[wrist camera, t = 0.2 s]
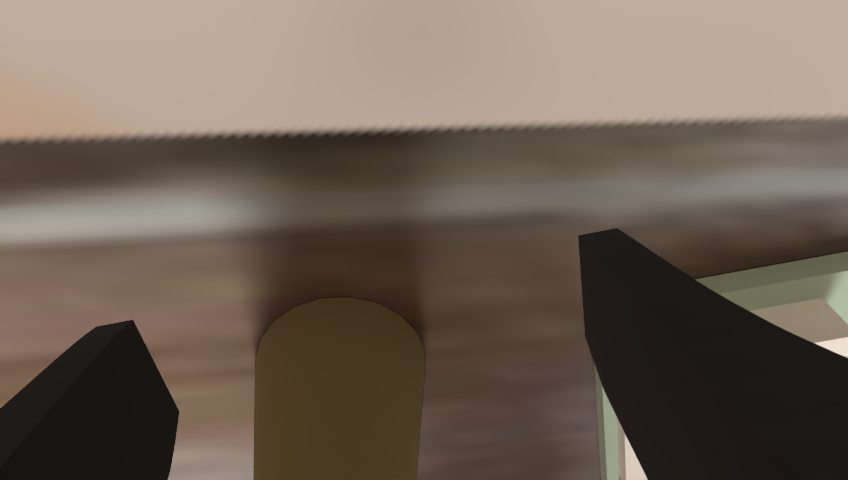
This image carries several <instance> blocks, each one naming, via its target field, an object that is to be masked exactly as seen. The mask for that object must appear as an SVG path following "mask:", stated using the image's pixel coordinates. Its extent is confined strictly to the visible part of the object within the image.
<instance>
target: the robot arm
mask: <svg viewBox="0 0 848 480" xmlns="http://www.w3.org/2000/svg"><path fill="white" fill-rule="evenodd" d="M578 239H579V253H580V267H581V281H582V295H583V309H584V322H585V336H586V339H587V342H588V345H589V348H590V351H591V354H592V357H593V360H594V363H595V366H596V369H597V372H598V375H599V378H600V381H601V383H602V386H603V389H604V391H605V394H606V396H607V398H608V400H609V402H610V404H611V406H612V408H613V410H614V412H615V414H616V416H617V418H618V420H619V422H620V425H621V427H622V429H623V431H624V433H625V435H626V437H627V439H628V441H629V443H630V445H631V447H632V449H633V451H634V453H635V455H636V457H637V459H638V461H639V463H640V465H641V467H642V469H643V471H644V473H645V475H646V477H647V479H648V480H848V358H847V357H844V356H842V355H839V354H837V353H835V352H833V351H831V350H828V349H826V348H824V347H822V346H819V345H817V344H815V343H813V342H810V341H808V340H806V339H804V338H801V337H799V336H797V335H795V334H793V333H791V332H789V331H787V330H785V329H782V328H780V327H778V326H776V325H774V324H772V323H770V322H769V321H767V320H765V319H763V318H761V317H759V316H757V315H756V314H754V313H752V312H750V311H748V310H746V309H744V308H743V307H741V306H739V305H737V304H735V303H733V302H732V301H730V300H728V299H726V298H725V297H723V296H721V295H720V294H718V293H716V292H714V291H713V290H711V289H709V288H708V287H706V286H704V285H703V284H701V283H700V282H698V281H696V280H695V279H693V278H691V277H690V276H688V275H687V274H685V273H684V272H682V271H680V270H679V269H677V268H676V267H674V266H673V265H671V264H670V263H668V262H667V261H665V260H664V259H662V258H661V257H659V256H658V255H656V254H655V253H653V252H652V251H650V250H649V249H647V248H646V247H644V246H643V245H641V244H640V243H638V242H637V241H635V240H634V239H632V238H631V237H630V236H628V235H627V234H625V233H623V232H622V231H620V230H619V229H617V228H616V229H611V230H606V231H600V232H595V233H590V234H584V235H579V236H578ZM178 416H179V410H178V408H177V406H176V404H175V402H174V400H173V398H172V396H171V394H170V392H169V390H168V388H167V387H166V385H165V383H164V381H163V379H162V377H161V375H160V373H159V371H158V369H157V367H156V365H155V363H154V361H153V359H152V357H151V355H150V353H149V351H148V349H147V347H146V345H145V343H144V341H143V339H142V337H141V335H140V333H139V331H138V329H137V327H136V325H135V323H134V321H133V320H130V321H124V322H119V323H114V324H109V325H103V326H98V327H95V328H94V329H93V330H91V331H90V332H89V333H87V334H86V335H84V336H83V337H82V338H81V339H79V340H78V341H77V342H76V343H75V344H73V345H72V346H71V347H70V348H69V349H67V350H66V351H65V352H64V353H63V354H62V355H60V356H59V357H58V358H57V359H56V360H55V361H54V362H52V363H51V364H50V365H49V366H48V367H47V368H46V369H44V370H43V371H42V372H41V373H40V374H39V375H38V376H37V377H35V378H34V379H33V380H32V381H31V382H30V383H29V384H28V385H26V386H25V387H24V388H23V389H22V390H21V391H20V392H19V393H17V394H16V395H15V396H14V397H13V398H12V399H11V400H10V401H8V402H7V403H6V404H5V405H4V406H3V407H2V408H0V480H167V479H168V476H169V472H170V468H171V463H172V457H173V451H174V445H175V439H176V431H177V424H178Z"/></svg>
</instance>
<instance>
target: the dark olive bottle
mask: <svg viewBox="0 0 848 480" xmlns="http://www.w3.org/2000/svg"><path fill="white" fill-rule="evenodd" d="M424 380H425V350H424V348H423V346H422V343H421V341H420V339H419V336H418V334H417V332H416V331H415V330H414V329H413V328H412V327H411V326H410V325H409V324H408V323H407V322H406V321H405V320H404V319H403V318H402V317H401V315H399V314H397V313H395V312H393V311H391V310H390V309H388V308H386V307H384V306H382V305H380V304H378V303H375V302H370V301H366V300H361V299H356V298H352V297H340V298H321V299H318V300H315V301H311V302H308V303H305V304H302V305H299V306H296V307H294V308H292V309H291V310H289V311H288V312H287V313H285V314H284V315H282V316H281V317H279V318H278V319H276V320H275V321H274V322H273V323H272V324H271V326H270V327H269V328H268V330H267V331H266V332H265V334H264V335H263V337H262V338H261V339H260V343H259V347H258V351H257V355H256V359H255V409H254V480H416V477H417V465H418V453H419V441H420V429H421V416H422V404H423V392H424Z"/></svg>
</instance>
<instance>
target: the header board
mask: <svg viewBox="0 0 848 480" xmlns="http://www.w3.org/2000/svg"><path fill="white" fill-rule="evenodd" d="M695 280H696V281H698V282H700V283H701V284H703V285H704V286H706V287H708V288H709V289H711V290H713V291H714V292H716V293H718V294H720V295H721V296H723V297H725V298H726V299H728V300H730V301H732V302H733V303H735V304H737V305H739V306H741V307H743V308H744V309H746V310H748V311H750V312H752V313H754V314H756V315H757V316H759V317H761V318H763V319H765V320H767V321H769V322H770V323H772V324H774V325H776V326H778V327H780V328H782V329H785V330H787V331H789V332H791V333H793V334H795V335H797V336H799V337H801V338H804V339H806V340H808V341H810V342H813V343H815V344H817V345H819V346H822V347H824V348H826V349H828V350H831V351H833V352H835V353H837V354H839V355H842V356H844V357H847V358H848V251H847V252H842V253H836V254H831V255H825V256H820V257H814V258H809V259H803V260H798V261H792V262H787V263H781V264H776V265H770V266H765V267H760V268H754V269H749V270H743V271H738V272H732V273H727V274H721V275H716V276H710V277H705V278H699V279H695ZM594 371H595V388H596V405H597V422H598V439H599V456H600V473H601V480H648V479H647V477H646V475H645V473H644V471H643V469H642V467H641V465H640V463H639V461H638V459H637V457H636V455H635V453H634V451H633V449H632V447H631V445H630V443H629V441H628V439H627V437H626V435H625V433H624V431H623V429H622V427H621V425H620V422H619V420H618V418H617V416H616V414H615V412H614V410H613V408H612V406H611V404H610V402H609V400H608V398H607V396H606V394H605V391H604V389H603V386H602V383H601V381H600V378H599V375H598V372H597V369H596V366H595V363H594Z"/></svg>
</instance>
